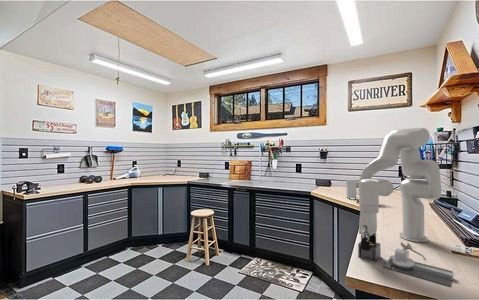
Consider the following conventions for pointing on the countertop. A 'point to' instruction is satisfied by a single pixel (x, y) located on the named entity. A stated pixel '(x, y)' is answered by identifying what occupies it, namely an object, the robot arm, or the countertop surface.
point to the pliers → (410, 248)
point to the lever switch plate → (418, 268)
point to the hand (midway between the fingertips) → (368, 247)
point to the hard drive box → (351, 187)
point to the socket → (370, 251)
